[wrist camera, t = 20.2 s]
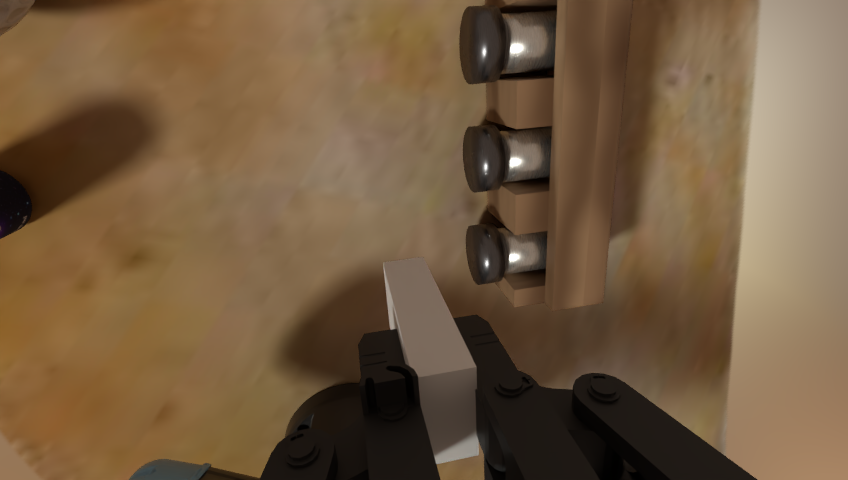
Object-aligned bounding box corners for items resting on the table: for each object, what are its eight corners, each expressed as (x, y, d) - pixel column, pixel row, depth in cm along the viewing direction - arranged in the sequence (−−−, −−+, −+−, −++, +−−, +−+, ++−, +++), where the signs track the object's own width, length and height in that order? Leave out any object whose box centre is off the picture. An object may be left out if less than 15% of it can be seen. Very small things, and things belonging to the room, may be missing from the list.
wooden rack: (488, 273, 47) (521, 316, 39) (485, -10, 37) (528, -34, 29) (557, 263, 49) (603, 302, 40) (572, -14, 39) (636, -38, 30)
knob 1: (460, 83, 38) (480, 85, 33) (458, 11, 36) (479, 1, 31) (555, 76, 39) (588, 76, 34) (557, 6, 37) (593, -5, 32)
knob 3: (466, 269, 45) (483, 295, 40) (465, 218, 43) (483, 238, 37) (547, 258, 46) (574, 281, 41) (549, 207, 44) (577, 225, 39)
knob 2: (463, 184, 41) (482, 199, 36) (462, 123, 39) (481, 131, 34) (550, 174, 43) (580, 188, 38) (553, 115, 41) (585, 121, 36)
